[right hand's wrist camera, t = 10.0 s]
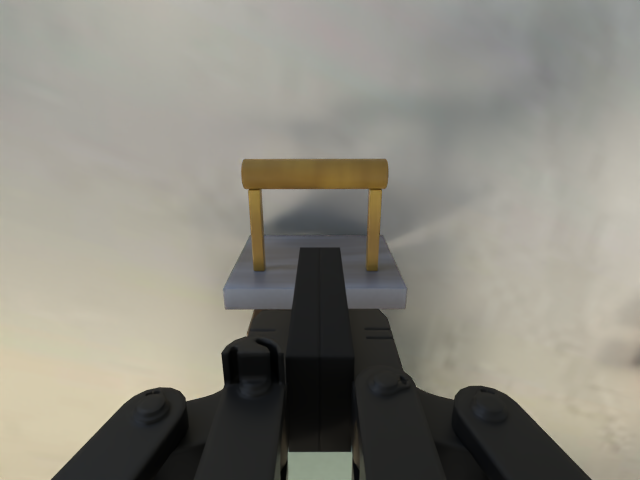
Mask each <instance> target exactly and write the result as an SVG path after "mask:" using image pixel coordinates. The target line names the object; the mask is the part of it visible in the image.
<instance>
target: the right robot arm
mask: <svg viewBox="0 0 640 480" xmlns="http://www.w3.org/2000/svg"><path fill="white" fill-rule="evenodd" d="M221 354H222V363H223V373H224V383H225V385H224V389H222V390H221V391H219V392H217V393H215V394H213V395H209V396H206V397H203V398H199V399H194V400H190V401H186V399H185V397H184V396H183V394H182V393H181V392H180V391H178V390H175V389H173V388H161V387H159V388H155V389H150V390H146V391H144V392H142V393H140V394H138V395H135V396H134V397H132V398H131V399H130V400H129V401H127V402H126V403H125V404H124V405H123V406H122V407H121V408H120V409H119V410H118V411H117V412H116V413H115V414H114V415H113V416H112V417H111V418H110V419H109V420H108V421H107V422H106V423H105V424H104V425H103V426H102V427H101V428H100V429H99V430H98V431H97V433H96V434H95V435H94V436H93V437H92V438H91V439H90V440H89V441H88V442H87V443H86V444H85V445H84V446H83V447H82V448H81V449H80V450H79V451H78V452H77V453H76V454H75V455H74V456H73V457H72V458H71V459H70V460H69V462H68V463H67V464H66V465H65V466H64V467H63V468H62V469H61V470H60V471H59V472H58V473H57V474H56V475H55V476H54V477H53V478H52V479H51V480H288V448H289V452H351V446H352V478H351V480H591V479H590V478H589V477H588V476H587V474H586V473H585V472H584V471H583V470H582V469H581V468H580V467H579V466H578V465H577V464H576V463H575V462H574V461H573V460H572V459H571V458H570V457H569V456H568V455H567V454H566V453H565V452H564V451H563V450H562V449H561V448H560V447H559V446H558V445H557V444H556V443H555V442H554V441H553V440H552V438H551V437H550V436H549V435H548V434H547V433H546V432H545V431H544V430H543V429H542V428H541V427H540V426H539V425H538V424H537V423H536V422H535V421H534V420H533V419H532V418H531V417H530V416H529V415H528V414H527V413H526V412H525V411H524V410H523V409H522V408H521V407H520V406H519V405H518V404H517V403H516V402H515V401H514V400H513V399H511V398H510V397H509V396H508V395H506V394H504V393H502V392H500V391H498V390H496V389H493V388H489V387H484V386H468V387H466V388H463V389H461V390H460V391H459V392H458V393H457V394H456V395H455V399H454V400H452V399H448V398H444V397H440V396H436V395H432V394H429V393H426V392H424V391H422V390H420V389H418V388H417V387H416V385H415V383H414V381H413V380H412V378H411V377H410V376H409V375H408V374H406V373H405V372H404V371H403V368H402V365H401V362H400V358H399V355H398V352H397V348H396V345H395V342H394V339H393V335H392V332H391V330H390V325H389V322H388V319H387V317H386V316H385V315H384V314H383V313H382V312H381V311H380V310H378V309H348V304H347V296H346V289H345V281H344V274H343V266H342V258H341V251H340V247H300V251H299V258H298V266H297V274H296V281H295V289H294V296H293V304H292V310H262V311H261V312H260V313H259V314H258V315H257V316H255V317H254V318H253V320H252V324H251V327H250V332H249V334H248V336H247V337H243V338H240V339H237V340H235V341H233V342H232V343H230V344H229V345H227V346H226V347H225V349H224V350H223V352H222V353H221Z"/></svg>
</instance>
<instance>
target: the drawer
mask: <svg viewBox="0 0 640 480" xmlns="http://www.w3.org/2000/svg"><path fill="white" fill-rule="evenodd" d="M241 177H242V184H243V187H244V189H249V190H248V195H249V210H250V225H251V235H250V237H249V239H248V241H247V243H246V245H245V247H244V248H243V250H242V252H241V254H240V256H239V258H238V260H237V262H236V264H235V266H234V268H233V270H232V272H231V274H230V276H229V278H228V280H227V282H226V284H225V286H224V288H223V294H224V304H225V309H254V312H253V316H252V319H251V322H250V325H249V328H248V332H247V336H248V334H249V332H250V327H251V324H252V320H253V318H254V317H255V316H257V315H258V314H259V313H260V312H261V311H262V310H292V304H293V296H294V289H295V281H296V274H297V266H298V258H299V251H300V247H340V251H341V258H342V266H343V274H344V281H345V289H346V296H347V304H348V309H405V308H406V298H407V287H406V285H405V283H404V280H403V278H402V276H401V274H400V272H399V269H398V267H397V265H396V263H395V261H394V258H393V256H392V254H391V252H390V250H389V247H388V245H387V243H386V241H385V239H384V236H383V235H380V218H381V199H382V190H381V189H385V188H386V187H387V183H388V162H387V160H386V159H244V160H243V162H242V167H241ZM262 189H369V197H368V221H367V235H264V226H263V207H262Z"/></svg>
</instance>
